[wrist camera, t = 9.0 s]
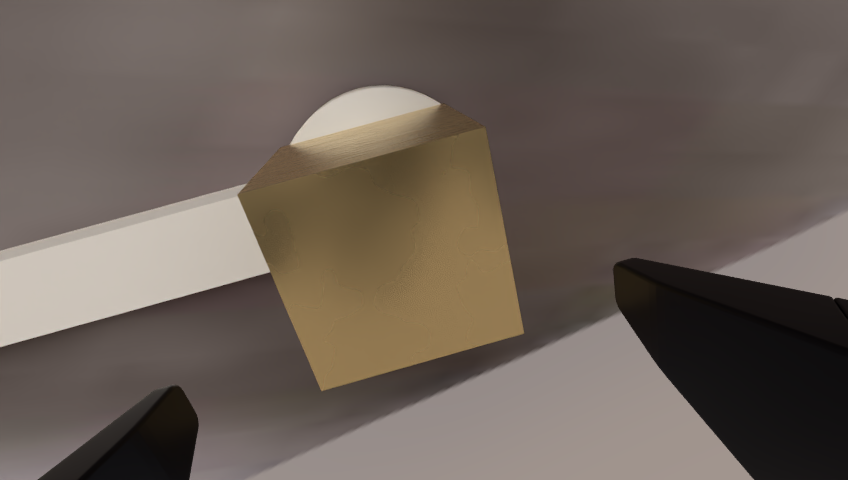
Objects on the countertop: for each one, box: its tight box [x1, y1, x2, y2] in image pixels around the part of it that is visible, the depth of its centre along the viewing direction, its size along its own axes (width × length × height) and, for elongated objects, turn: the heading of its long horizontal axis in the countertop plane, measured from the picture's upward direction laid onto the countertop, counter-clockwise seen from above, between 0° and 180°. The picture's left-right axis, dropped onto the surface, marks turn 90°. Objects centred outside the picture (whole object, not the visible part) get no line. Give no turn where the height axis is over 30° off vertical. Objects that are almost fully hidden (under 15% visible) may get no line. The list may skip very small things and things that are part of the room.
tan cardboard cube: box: [237, 103, 524, 391], centre depth 15 cm, size 6×6×6 cm
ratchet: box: [0, 85, 440, 347], centre depth 16 cm, size 28×8×6 cm, turn 104°
